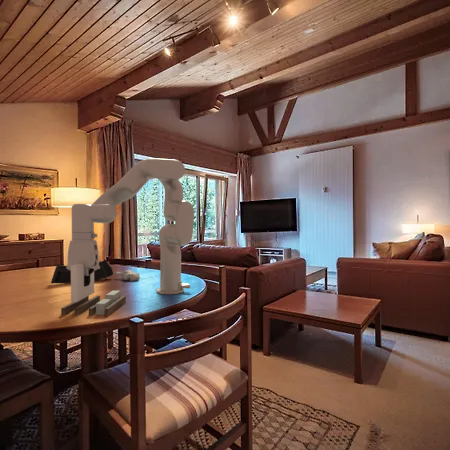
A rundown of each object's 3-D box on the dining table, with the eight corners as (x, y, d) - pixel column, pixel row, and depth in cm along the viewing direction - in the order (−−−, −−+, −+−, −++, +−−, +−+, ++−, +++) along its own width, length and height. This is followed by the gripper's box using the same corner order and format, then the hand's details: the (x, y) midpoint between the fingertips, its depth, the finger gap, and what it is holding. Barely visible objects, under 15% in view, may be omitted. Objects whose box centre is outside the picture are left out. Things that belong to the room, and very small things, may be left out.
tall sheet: (94, 292, 120) (94, 260, 119) (76, 302, 106) (76, 265, 105) (89, 292, 120) (89, 260, 119) (71, 302, 106) (70, 265, 105)
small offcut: (110, 309, 111) (111, 299, 111) (104, 315, 105) (104, 303, 105) (102, 309, 111) (102, 299, 111) (96, 314, 105) (96, 303, 105)
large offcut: (120, 302, 120) (120, 290, 120) (113, 308, 113) (113, 294, 113) (112, 302, 120) (112, 290, 120) (105, 307, 113) (105, 294, 113)
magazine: (46, 268, 147) (105, 248, 166) (45, 267, 150) (103, 247, 169) (57, 300, 151) (114, 276, 170) (56, 298, 153) (112, 275, 172)
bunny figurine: (129, 275, 160) (113, 268, 169) (128, 284, 160) (112, 277, 169) (144, 273, 167) (128, 267, 176) (143, 281, 168) (127, 275, 177)
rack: (125, 302, 121) (125, 295, 121) (108, 316, 103) (108, 308, 103) (85, 301, 122) (85, 295, 121) (61, 315, 103) (61, 308, 103)
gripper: (108, 236, 116) (108, 283, 116) (67, 236, 116) (67, 283, 116) (99, 237, 108) (100, 288, 109) (56, 237, 109) (56, 287, 109)
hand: (83, 285), depth 113 cm, fingers closed on tall sheet, 2 cm apart
